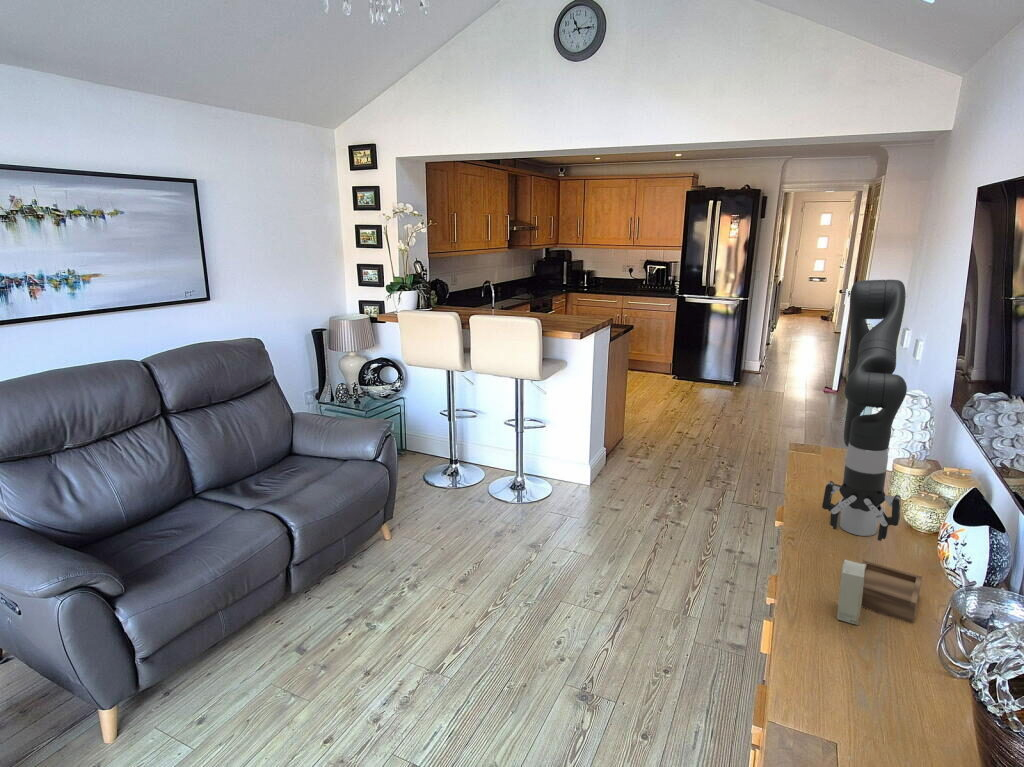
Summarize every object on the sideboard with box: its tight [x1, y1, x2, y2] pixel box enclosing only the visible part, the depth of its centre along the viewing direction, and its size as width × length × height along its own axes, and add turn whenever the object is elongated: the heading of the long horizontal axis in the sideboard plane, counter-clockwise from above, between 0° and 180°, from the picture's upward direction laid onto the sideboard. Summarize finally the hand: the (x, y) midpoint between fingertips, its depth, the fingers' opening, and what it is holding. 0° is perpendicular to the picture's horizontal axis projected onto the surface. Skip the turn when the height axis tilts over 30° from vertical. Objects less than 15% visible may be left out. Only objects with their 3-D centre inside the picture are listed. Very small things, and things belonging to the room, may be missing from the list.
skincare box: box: [836, 559, 866, 626], centre depth 132 cm, size 6×4×12 cm
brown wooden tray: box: [861, 560, 923, 624], centre depth 137 cm, size 12×12×6 cm
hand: (857, 533), depth 128 cm, fingers open, 8 cm apart
